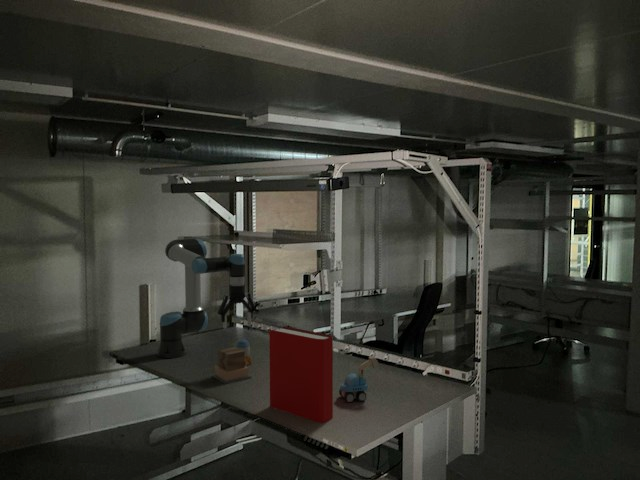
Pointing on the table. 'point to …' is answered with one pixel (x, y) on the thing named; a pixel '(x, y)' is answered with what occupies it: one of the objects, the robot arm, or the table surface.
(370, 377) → the table surface
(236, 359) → the walnut brick
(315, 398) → the book
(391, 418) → the table surface
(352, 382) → the toy excavator
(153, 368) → the table surface
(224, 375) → the build base
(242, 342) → the toy rocket
